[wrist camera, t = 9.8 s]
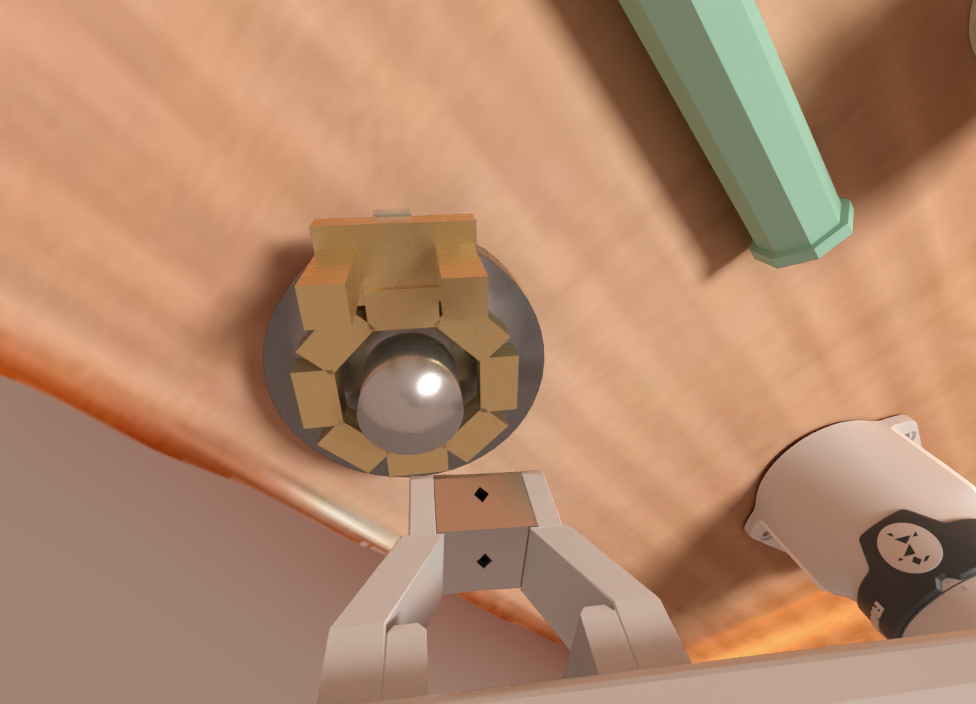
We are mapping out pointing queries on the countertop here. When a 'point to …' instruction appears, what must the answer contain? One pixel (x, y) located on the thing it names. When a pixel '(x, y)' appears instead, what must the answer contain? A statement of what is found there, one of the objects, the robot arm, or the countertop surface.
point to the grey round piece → (409, 374)
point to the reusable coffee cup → (973, 26)
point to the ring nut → (398, 326)
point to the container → (746, 123)
